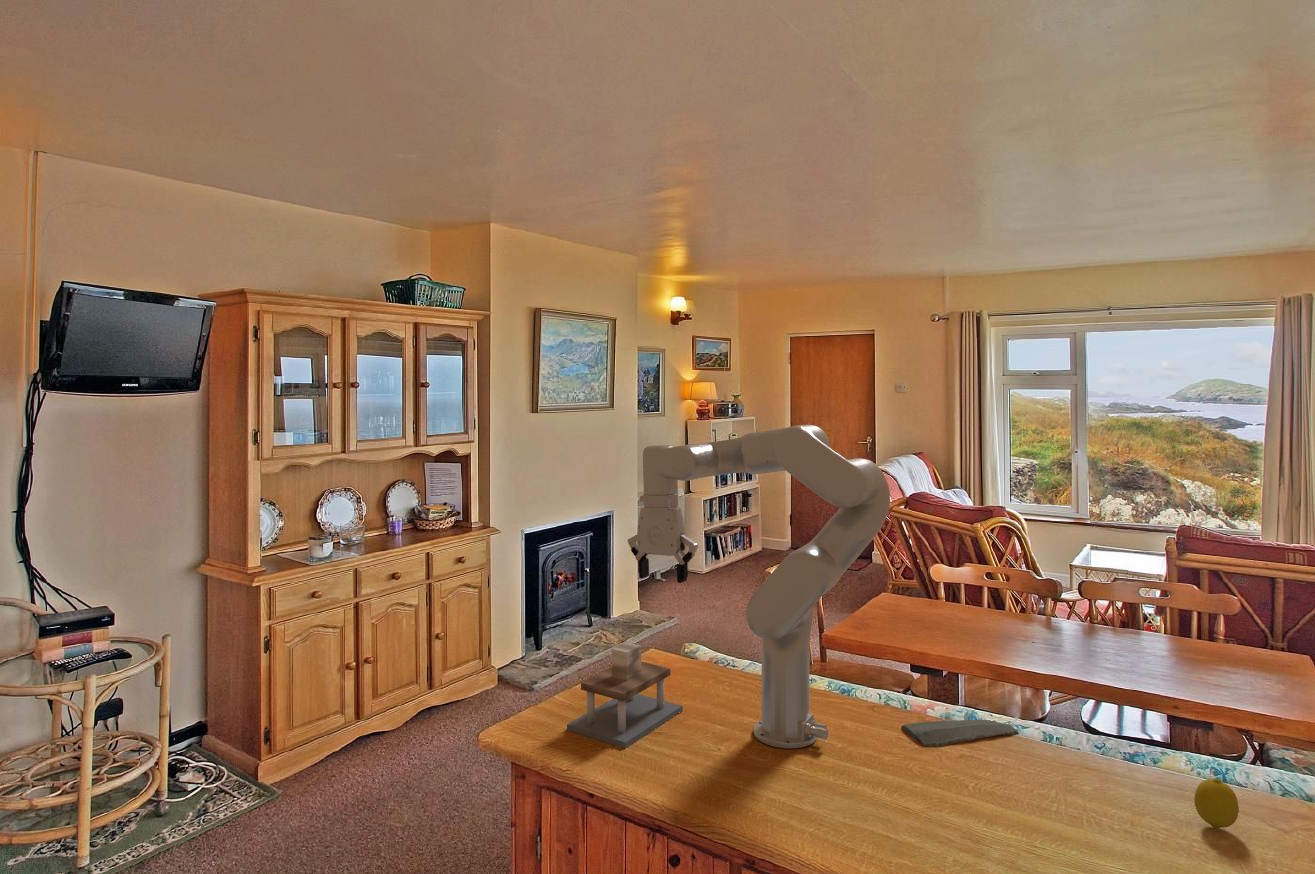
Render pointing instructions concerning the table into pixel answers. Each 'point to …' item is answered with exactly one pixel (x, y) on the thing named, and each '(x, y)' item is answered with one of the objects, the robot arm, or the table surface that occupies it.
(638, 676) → the shelf board
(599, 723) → the peg stand
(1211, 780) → the lemon
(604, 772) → the table surface
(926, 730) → the stone slab
